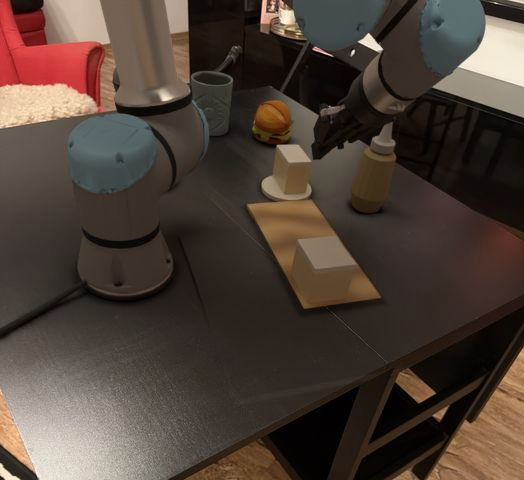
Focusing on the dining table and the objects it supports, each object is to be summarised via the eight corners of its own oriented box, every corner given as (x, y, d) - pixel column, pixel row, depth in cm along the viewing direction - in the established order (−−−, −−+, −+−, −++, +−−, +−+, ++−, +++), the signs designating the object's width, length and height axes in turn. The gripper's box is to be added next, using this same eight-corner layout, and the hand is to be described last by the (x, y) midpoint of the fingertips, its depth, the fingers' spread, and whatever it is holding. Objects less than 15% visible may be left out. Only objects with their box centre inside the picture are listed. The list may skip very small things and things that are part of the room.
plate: (288, 209, 99) (289, 205, 99) (250, 187, 104) (251, 183, 103) (320, 193, 105) (321, 189, 105) (283, 173, 110) (284, 169, 109)
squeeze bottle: (355, 218, 100) (379, 130, 87) (340, 198, 105) (361, 112, 92) (389, 216, 102) (418, 130, 89) (373, 196, 107) (398, 113, 94)
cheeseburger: (292, 131, 127) (298, 95, 118) (288, 158, 121) (294, 122, 113) (254, 125, 126) (257, 89, 118) (248, 151, 121) (251, 115, 112)
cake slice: (305, 193, 103) (311, 161, 98) (284, 194, 101) (288, 162, 96) (293, 175, 108) (298, 144, 103) (272, 176, 107) (276, 144, 101)
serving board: (380, 302, 82) (381, 297, 81) (302, 313, 78) (304, 308, 77) (310, 203, 102) (311, 199, 101) (246, 208, 98) (246, 203, 97)
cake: (346, 298, 80) (356, 264, 75) (307, 303, 78) (315, 269, 73) (327, 269, 85) (335, 235, 80) (290, 273, 83) (297, 239, 78)
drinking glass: (207, 140, 118) (208, 87, 109) (183, 125, 123) (182, 73, 114) (238, 132, 123) (241, 81, 114) (214, 117, 128) (215, 68, 119)
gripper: (345, 117, 64) (285, 174, 86) (428, 116, 67) (349, 171, 90) (338, 59, 63) (279, 132, 86) (422, 61, 67) (344, 130, 89)
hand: (315, 152), depth 88 cm, fingers closed
